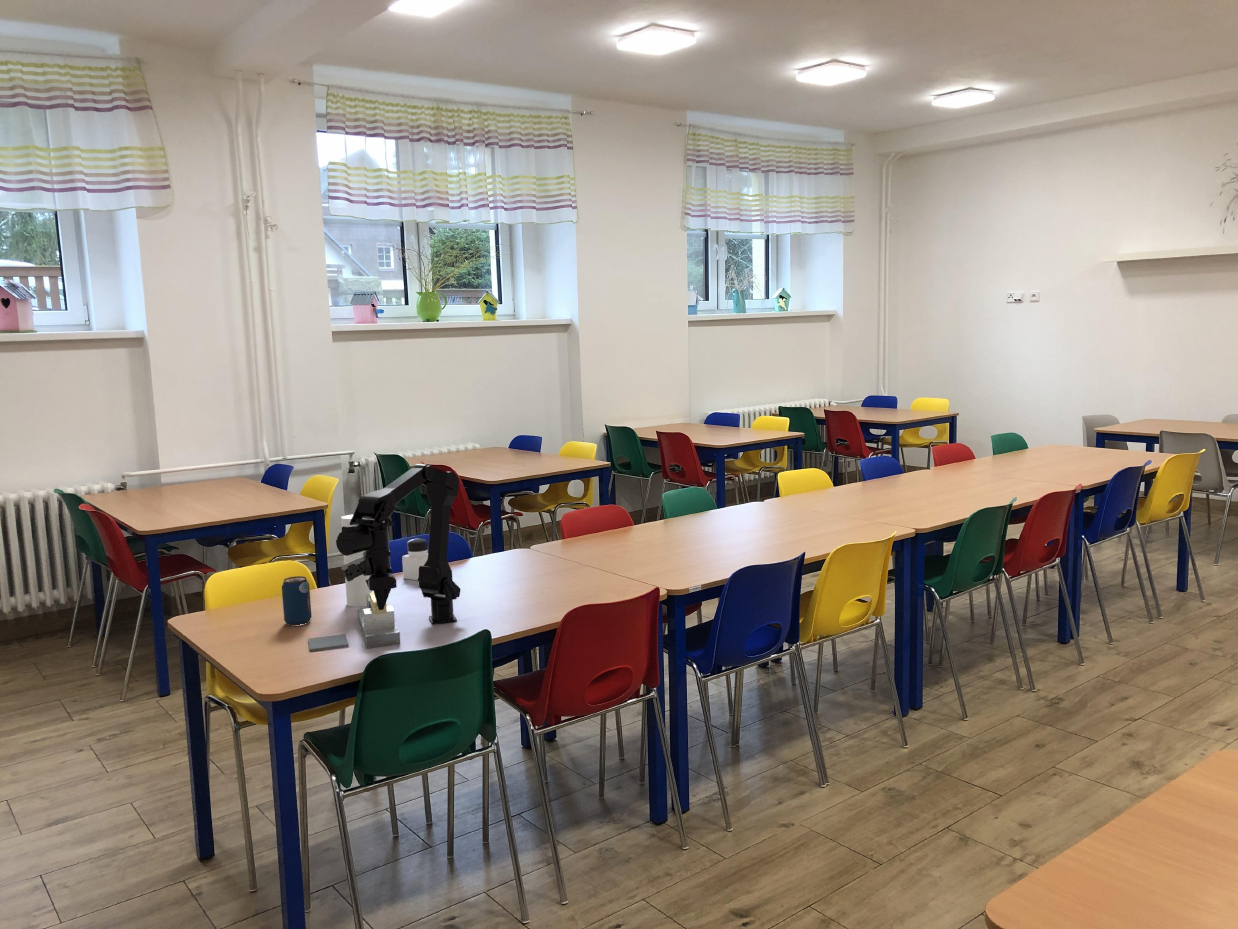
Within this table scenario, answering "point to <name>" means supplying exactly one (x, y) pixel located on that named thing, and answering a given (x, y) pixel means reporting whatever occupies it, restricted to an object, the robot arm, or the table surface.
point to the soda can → (296, 600)
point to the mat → (328, 642)
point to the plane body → (377, 631)
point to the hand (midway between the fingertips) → (381, 609)
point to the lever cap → (378, 619)
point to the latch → (375, 606)
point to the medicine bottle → (414, 558)
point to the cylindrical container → (358, 585)
